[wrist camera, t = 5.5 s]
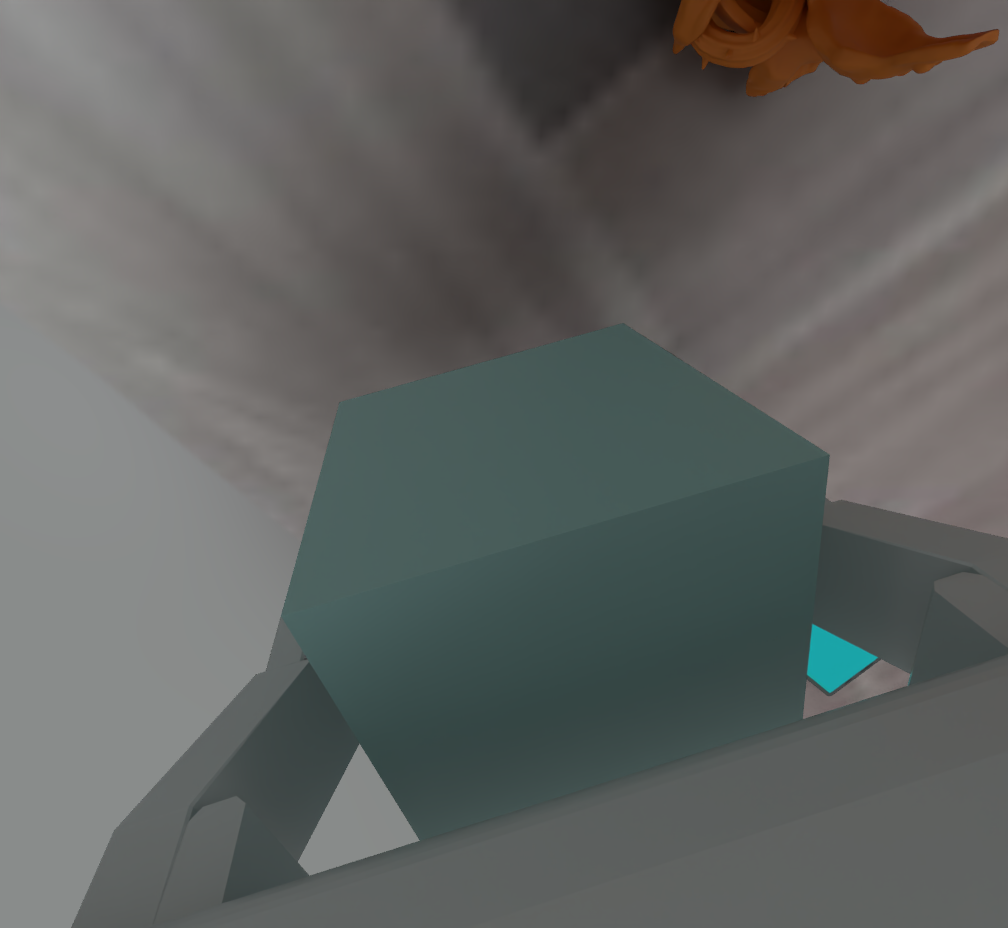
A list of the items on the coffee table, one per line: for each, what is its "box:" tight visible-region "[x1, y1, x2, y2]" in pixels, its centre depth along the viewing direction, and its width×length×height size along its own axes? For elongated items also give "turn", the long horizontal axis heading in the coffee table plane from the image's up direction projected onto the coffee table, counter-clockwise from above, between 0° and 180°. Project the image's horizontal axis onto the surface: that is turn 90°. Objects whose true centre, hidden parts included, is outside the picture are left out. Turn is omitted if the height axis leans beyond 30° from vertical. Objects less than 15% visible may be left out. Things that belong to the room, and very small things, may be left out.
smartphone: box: [807, 624, 881, 696], centre depth 38 cm, size 7×1×15 cm
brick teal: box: [281, 323, 830, 841], centre depth 8 cm, size 6×5×5 cm
